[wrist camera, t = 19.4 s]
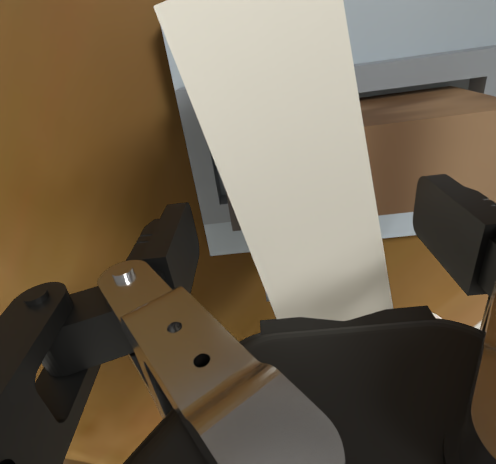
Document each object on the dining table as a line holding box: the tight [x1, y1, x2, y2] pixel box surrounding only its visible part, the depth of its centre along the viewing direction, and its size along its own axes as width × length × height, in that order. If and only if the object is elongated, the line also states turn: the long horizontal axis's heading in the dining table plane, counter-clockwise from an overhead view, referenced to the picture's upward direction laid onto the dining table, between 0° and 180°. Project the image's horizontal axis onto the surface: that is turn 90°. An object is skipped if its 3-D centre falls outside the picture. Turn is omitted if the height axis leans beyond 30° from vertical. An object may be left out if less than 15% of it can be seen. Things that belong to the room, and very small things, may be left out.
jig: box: [161, 0, 496, 301], centre depth 17 cm, size 19×14×7 cm
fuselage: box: [225, 86, 496, 231], centre depth 17 cm, size 12×4×6 cm, turn 97°
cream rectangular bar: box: [153, 0, 393, 321], centre depth 12 cm, size 14×4×4 cm, turn 19°
